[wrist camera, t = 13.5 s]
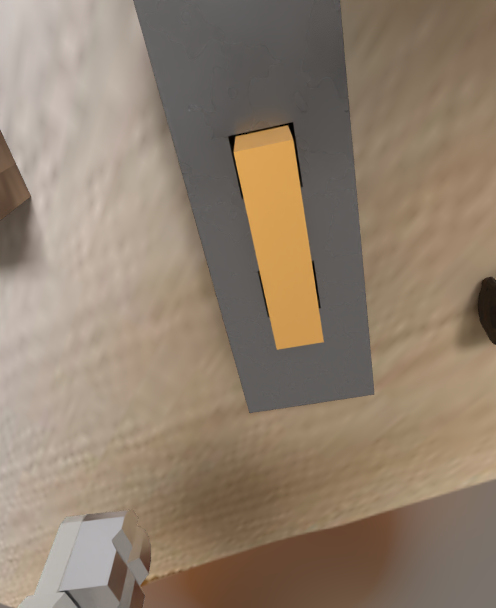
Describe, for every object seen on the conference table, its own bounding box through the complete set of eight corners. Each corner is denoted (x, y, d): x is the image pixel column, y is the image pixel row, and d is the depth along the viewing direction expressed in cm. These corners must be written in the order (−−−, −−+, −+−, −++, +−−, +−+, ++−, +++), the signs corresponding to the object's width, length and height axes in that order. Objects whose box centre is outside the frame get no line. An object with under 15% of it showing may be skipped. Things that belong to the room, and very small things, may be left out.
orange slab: (238, 117, 25) (233, 152, 18) (281, 107, 25) (293, 139, 18) (270, 276, 30) (276, 349, 23) (307, 269, 30) (323, 342, 23)
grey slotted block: (149, -24, 22) (122, -37, 18) (313, -67, 21) (331, -93, 17) (249, 359, 35) (249, 412, 30) (356, 342, 34) (374, 394, 29)
